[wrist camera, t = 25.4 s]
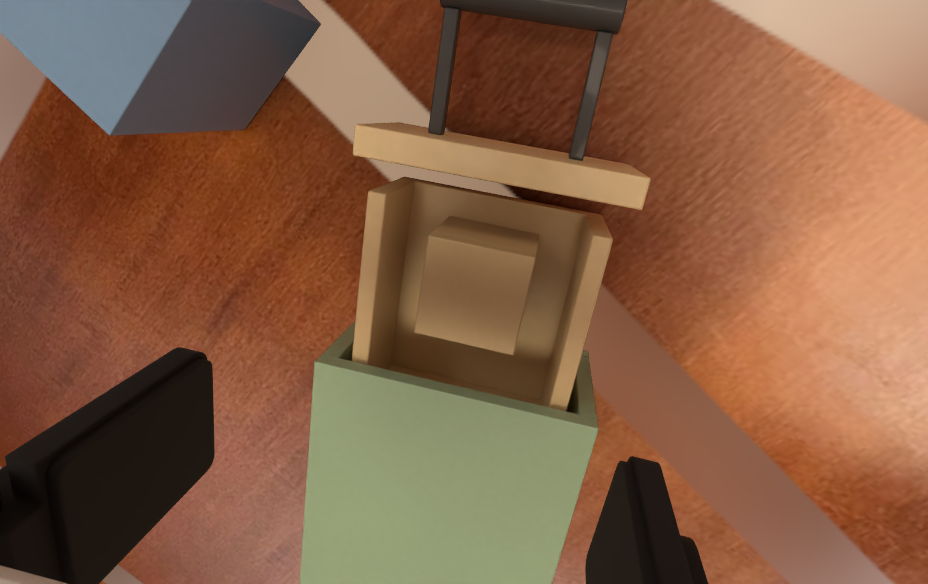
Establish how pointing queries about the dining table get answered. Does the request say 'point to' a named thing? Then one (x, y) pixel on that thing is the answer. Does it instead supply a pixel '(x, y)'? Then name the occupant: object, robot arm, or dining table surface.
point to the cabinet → (437, 478)
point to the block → (476, 284)
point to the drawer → (429, 204)
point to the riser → (161, 57)
